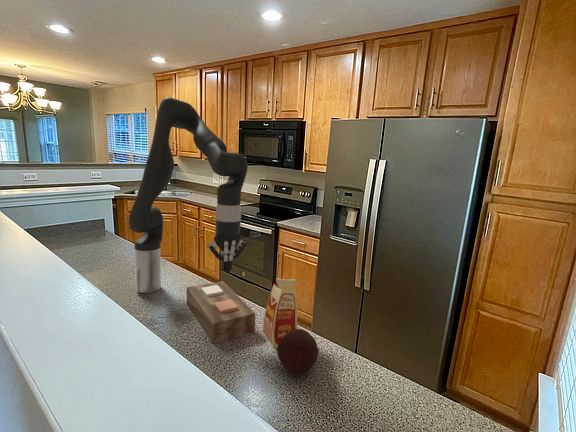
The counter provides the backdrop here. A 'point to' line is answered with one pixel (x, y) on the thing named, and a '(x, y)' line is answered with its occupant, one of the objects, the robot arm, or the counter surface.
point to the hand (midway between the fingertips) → (226, 271)
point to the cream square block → (211, 291)
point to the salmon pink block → (225, 306)
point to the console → (216, 323)
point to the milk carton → (280, 311)
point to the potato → (297, 352)
